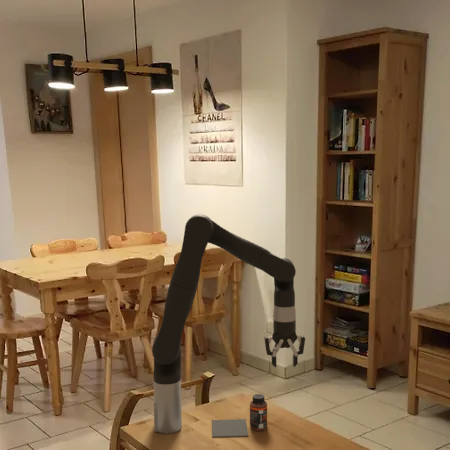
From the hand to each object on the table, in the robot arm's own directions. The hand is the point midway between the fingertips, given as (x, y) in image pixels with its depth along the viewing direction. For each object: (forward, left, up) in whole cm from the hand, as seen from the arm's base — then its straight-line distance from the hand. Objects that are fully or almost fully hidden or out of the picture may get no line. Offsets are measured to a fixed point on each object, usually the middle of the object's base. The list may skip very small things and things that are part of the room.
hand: (284, 366), depth 191 cm
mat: (-19, 0, -22) cm, 29 cm away
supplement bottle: (-9, 0, -22) cm, 24 cm away
